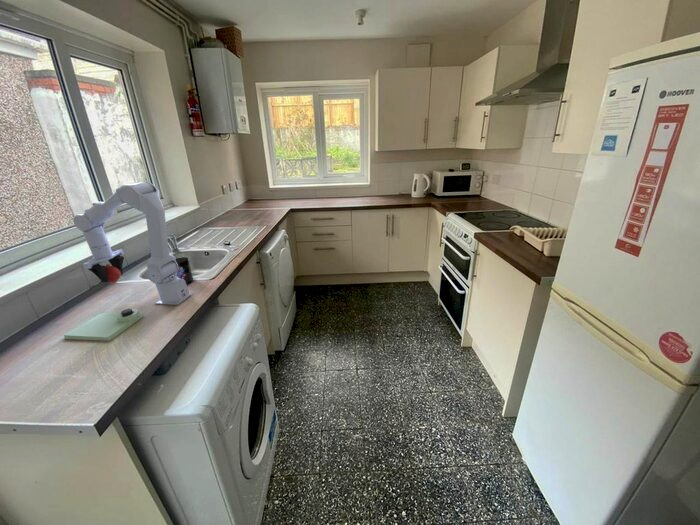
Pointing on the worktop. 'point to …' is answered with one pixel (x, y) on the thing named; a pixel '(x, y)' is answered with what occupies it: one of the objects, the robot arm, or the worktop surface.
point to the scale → (104, 326)
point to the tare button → (126, 312)
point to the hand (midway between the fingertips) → (112, 278)
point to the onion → (112, 273)
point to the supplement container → (184, 270)
